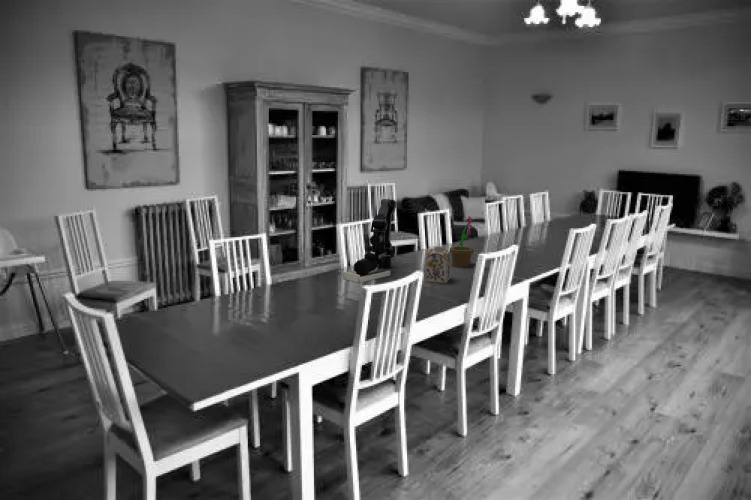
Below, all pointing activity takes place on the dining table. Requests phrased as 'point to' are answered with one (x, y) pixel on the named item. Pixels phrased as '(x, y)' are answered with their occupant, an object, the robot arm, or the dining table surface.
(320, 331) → the dining table surface
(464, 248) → the flowerpot
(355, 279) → the tester cradle
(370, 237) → the robot arm
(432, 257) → the decorative jar
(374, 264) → the security camera
